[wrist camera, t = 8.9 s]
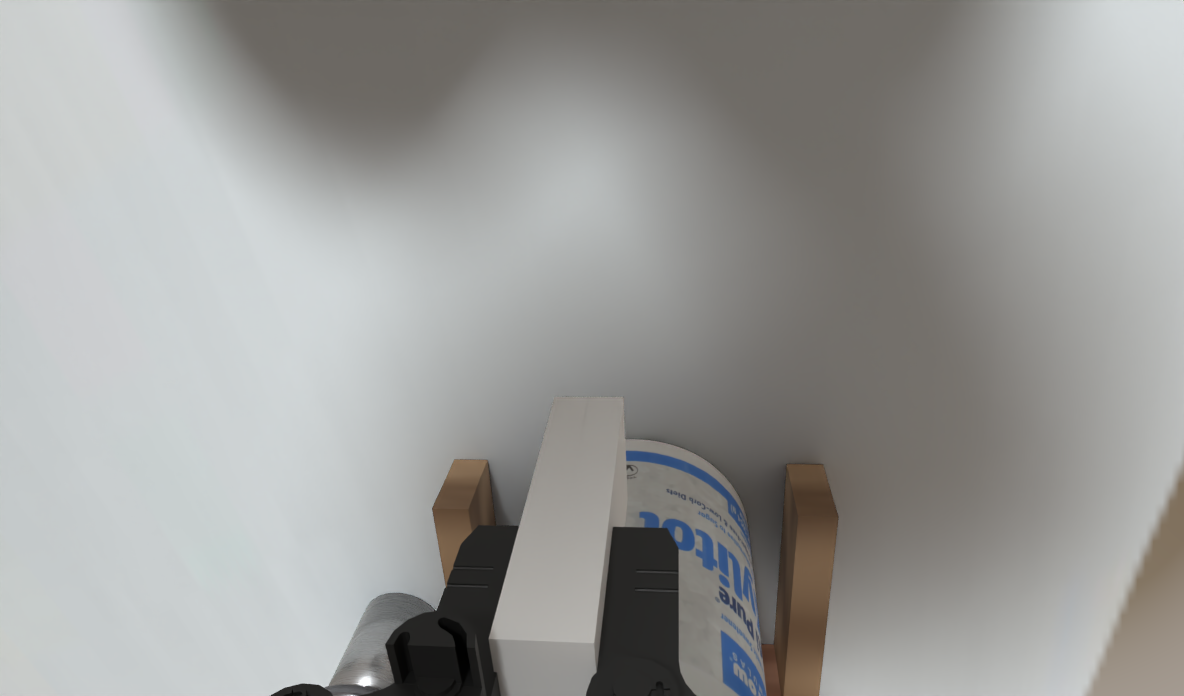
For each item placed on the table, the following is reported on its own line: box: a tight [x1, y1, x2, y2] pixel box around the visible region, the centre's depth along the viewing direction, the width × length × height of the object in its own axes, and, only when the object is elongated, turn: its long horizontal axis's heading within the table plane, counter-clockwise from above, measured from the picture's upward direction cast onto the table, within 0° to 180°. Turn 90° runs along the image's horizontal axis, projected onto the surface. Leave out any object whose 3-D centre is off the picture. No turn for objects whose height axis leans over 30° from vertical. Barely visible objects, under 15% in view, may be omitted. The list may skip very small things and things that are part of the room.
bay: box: [432, 460, 838, 696], centre depth 34 cm, size 12×16×4 cm
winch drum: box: [325, 593, 435, 696], centre depth 36 cm, size 5×6×7 cm
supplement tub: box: [625, 439, 767, 696], centre depth 28 cm, size 10×10×15 cm
